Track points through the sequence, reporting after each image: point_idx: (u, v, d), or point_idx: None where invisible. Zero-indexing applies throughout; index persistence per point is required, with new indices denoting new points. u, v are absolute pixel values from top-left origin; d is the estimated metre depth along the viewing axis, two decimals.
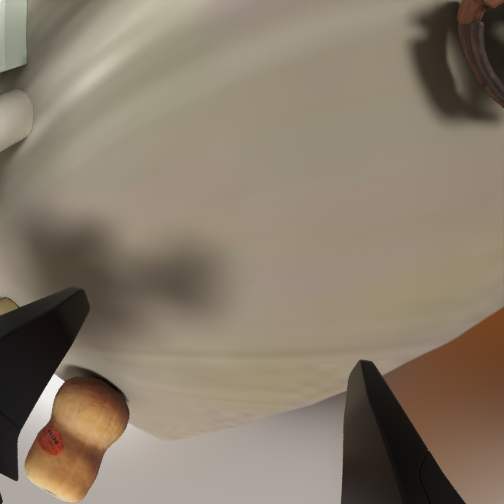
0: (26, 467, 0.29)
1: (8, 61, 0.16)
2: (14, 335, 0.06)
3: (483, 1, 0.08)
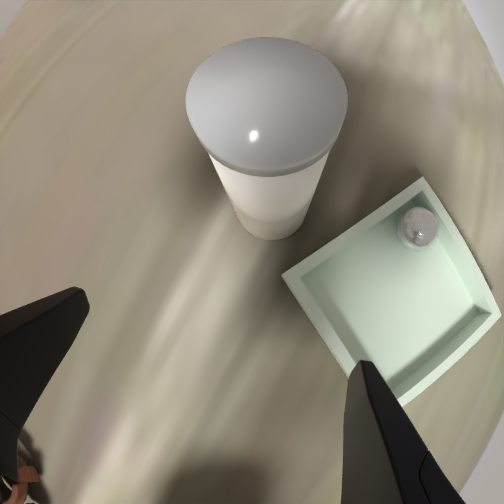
0: None
1: (288, 283, 0.21)
2: (14, 335, 0.06)
3: (16, 485, 0.17)
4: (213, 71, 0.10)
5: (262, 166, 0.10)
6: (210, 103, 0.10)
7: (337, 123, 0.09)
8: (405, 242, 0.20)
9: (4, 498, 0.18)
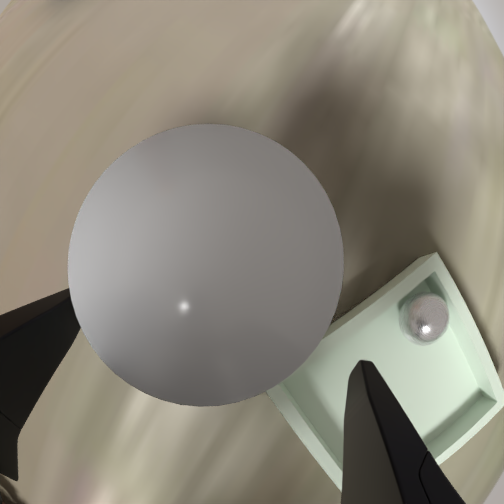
0: None
1: None
2: (14, 335, 0.06)
3: None
4: (106, 208, 0.06)
5: None
6: (100, 282, 0.06)
7: (316, 333, 0.05)
8: (408, 338, 0.16)
9: None
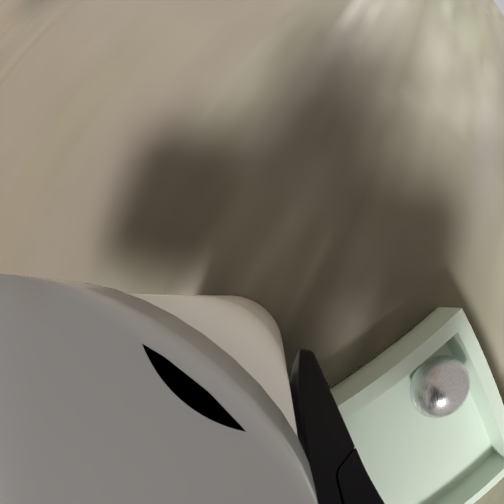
0: None
1: None
2: None
3: None
4: None
5: None
6: None
7: None
8: (419, 411, 0.12)
9: None
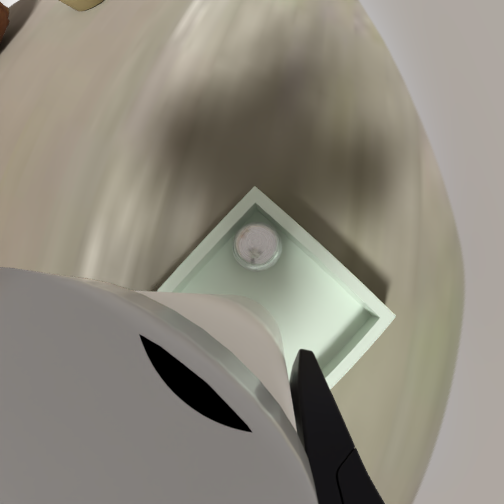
0: None
1: None
2: None
3: None
4: None
5: None
6: None
7: None
8: (242, 266, 0.20)
9: None
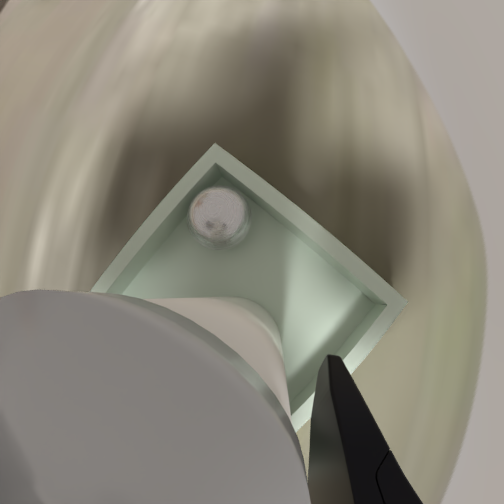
0: None
1: None
2: None
3: None
4: None
5: None
6: None
7: None
8: (200, 243, 0.15)
9: None
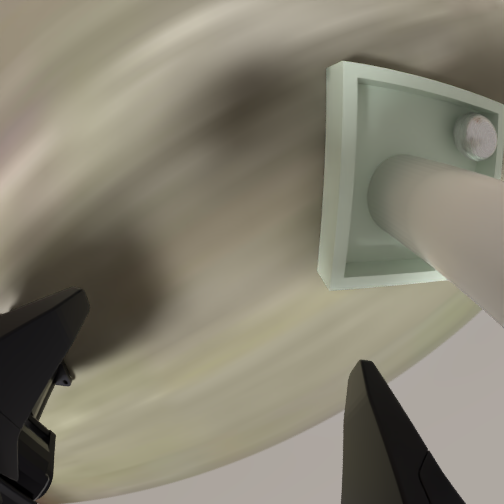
0: None
1: (340, 74, 0.14)
2: (14, 335, 0.06)
3: None
4: None
5: None
6: None
7: None
8: (461, 136, 0.15)
9: None
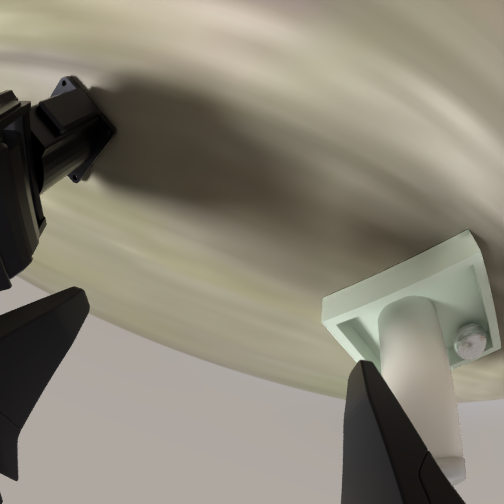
0: None
1: (469, 252, 0.17)
2: (14, 335, 0.06)
3: None
4: (454, 479, 0.11)
5: None
6: None
7: None
8: (466, 335, 0.21)
9: None
